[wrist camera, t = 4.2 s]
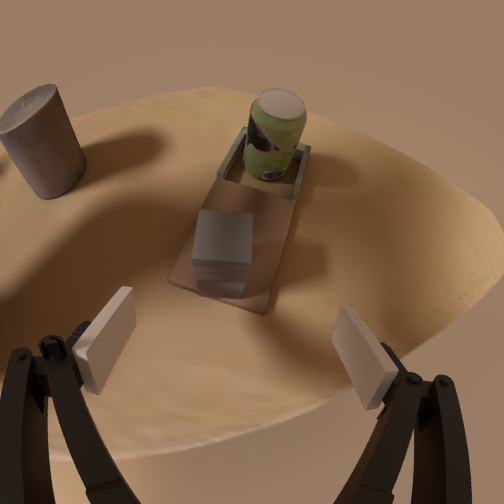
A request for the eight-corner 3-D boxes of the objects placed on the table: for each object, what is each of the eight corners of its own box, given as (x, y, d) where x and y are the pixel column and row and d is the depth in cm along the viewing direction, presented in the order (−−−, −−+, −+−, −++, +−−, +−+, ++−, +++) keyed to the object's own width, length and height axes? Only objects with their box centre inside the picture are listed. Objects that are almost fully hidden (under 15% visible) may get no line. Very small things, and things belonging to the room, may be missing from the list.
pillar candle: (75, 143, 34) (47, 70, 21) (95, 171, 32) (61, 84, 19) (29, 178, 31) (-10, 111, 17) (43, 213, 28) (-10, 137, 15)
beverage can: (281, 152, 37) (301, 82, 26) (293, 191, 34) (321, 117, 23) (238, 152, 36) (247, 78, 25) (244, 192, 33) (257, 112, 22)
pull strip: (167, 287, 26) (145, 242, 18) (242, 136, 38) (249, 82, 29) (261, 319, 26) (283, 289, 18) (307, 156, 37) (326, 104, 29)
